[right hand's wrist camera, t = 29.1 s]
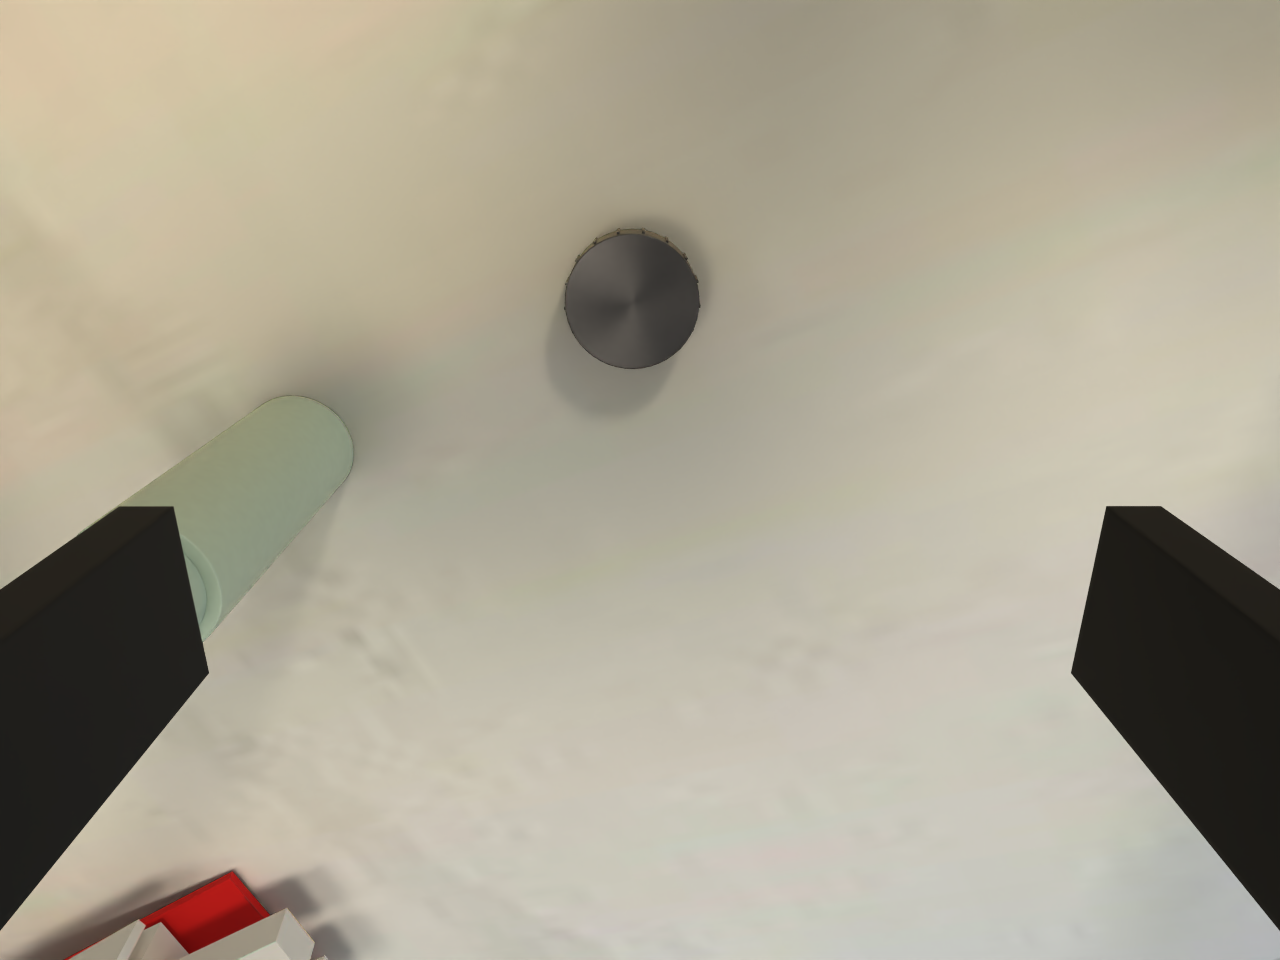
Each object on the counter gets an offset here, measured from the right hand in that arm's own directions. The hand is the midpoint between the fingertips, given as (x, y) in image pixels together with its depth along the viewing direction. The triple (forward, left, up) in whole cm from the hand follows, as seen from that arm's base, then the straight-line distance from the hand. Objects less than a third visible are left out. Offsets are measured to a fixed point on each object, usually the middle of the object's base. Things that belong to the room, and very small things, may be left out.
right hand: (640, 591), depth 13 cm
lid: (0, 0, -24) cm, 24 cm away
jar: (+13, -11, -26) cm, 31 cm away
